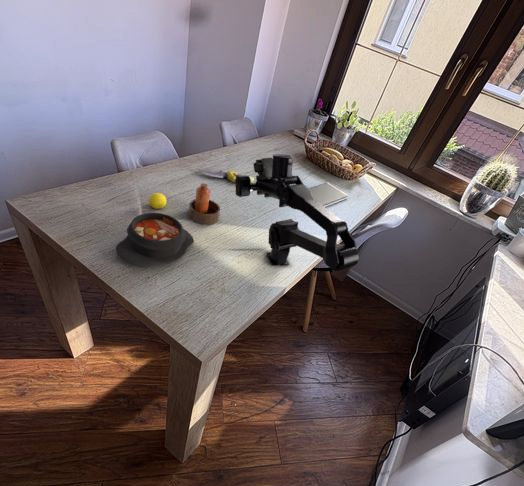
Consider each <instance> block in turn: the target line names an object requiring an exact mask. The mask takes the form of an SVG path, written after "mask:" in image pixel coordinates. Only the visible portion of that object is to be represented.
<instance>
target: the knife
mask: <svg viewBox="0 0 524 486" xmlns="http://www.w3.org/2000/svg"><path fill="white" fill-rule="evenodd" d="M195 169H196V170H197V171H198V172H200V173H203V174H204V175H207V176H210V177H215V178H220V179H224V177H226V178H227V180H229V181H230V182H232V183H235V179H236V177H237V176H242V175H241V174H238V173H237V171H236V170H235V171H234V170H228V171H223V170H219V171H209V170H204V169H201V168H198V167H196V168H195ZM248 176H249V177H250V179H251V183H255V182H254V180H255V179H254V177H252V176H250V175H248Z"/></svg>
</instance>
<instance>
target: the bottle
mask: <svg viewBox="0 0 524 486" xmlns="http://www.w3.org/2000/svg"><path fill="white" fill-rule="evenodd" d="M210 197H211V190H210V188H208V184H207V183H203V182H202V183H200V186H199V187H197V188H196V190H195V198H194V199H195V206H194V210H195V211H197V212H199V213H202V214H207V212H208V205H209V200H210Z"/></svg>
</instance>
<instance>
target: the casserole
mask: <svg viewBox="0 0 524 486" xmlns="http://www.w3.org/2000/svg"><path fill="white" fill-rule="evenodd" d="M126 233H127V235H126V237H125V238H124V239H123V240H122V241H120V242H119V243H117V244H116V246H115V252H116V254H117V255H118V257H119V258H120V259H121V260H123V261H124V262H126V263H128V264H130V265H132V266H136V267H146V266H150V265H158V264H159V265H160V264H168V263H173V262H175V261H178V260H180V259H181V258H182V257H184V256H185V255H186V253H187V252H188V249H189V248H190V247H191V246H192V245H193V244H194V242H195V240H194V237H193V236H192V234H191V233H190V232H189V231H187V230H186V229H184V227H183V225H182V223H181V222H180V221H179V220H178V219H177V218H175V217H173V216H171V215H170V214H165V213H161V212H144V213H142V214H139V215H137V216H135V217H133V219H132V220H131V222H130V223H129V225H128V226H127V229H126Z"/></svg>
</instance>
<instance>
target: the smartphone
mask: <svg viewBox="0 0 524 486" xmlns="http://www.w3.org/2000/svg"><path fill="white" fill-rule="evenodd" d="M308 189H309V190H310V191H311V193H312V197H313V198H314V199H315V200H316V201H317V202H319V203H320V204H321V205H322V206H324V207H325V208H327V207H329V206H330V205H334V204H336V203H339V202H341V201H344V200H346V199H348V198H349V195H348V193H347V194H346V193H345V192H344V191H342V190H341V189H338V188H337V187H336V186H334V185H332V184H330V183H329V182H325V183H322V184H318V185H314V186H312V187H309V188H308Z"/></svg>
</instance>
